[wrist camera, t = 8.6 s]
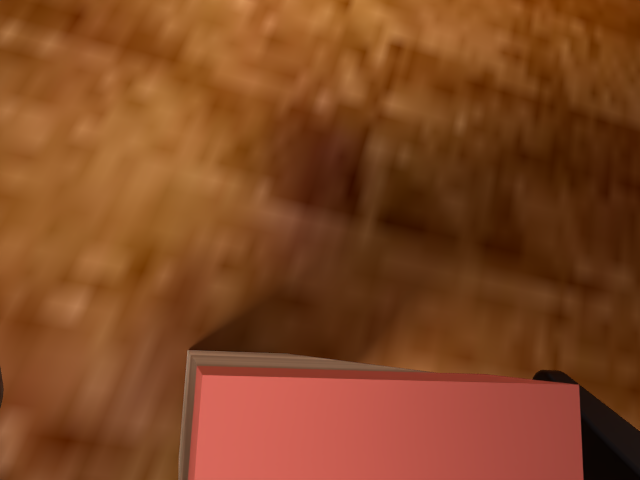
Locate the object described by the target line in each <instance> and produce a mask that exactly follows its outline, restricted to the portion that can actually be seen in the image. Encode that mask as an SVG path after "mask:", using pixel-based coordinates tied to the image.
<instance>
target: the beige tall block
mask: <svg viewBox="0 0 640 480" xmlns="http://www.w3.org/2000/svg"><path fill="white" fill-rule="evenodd" d="M179 480H584V479H583V458H582V437H581V416H580V394H579V385H576V384H567V383H558V382H549V381H540V380H532V379H523V378H514V377H505V376H496V375H487V374H459V373H434V372H426V371H418V370H411V369H403V368H395V367H387V366H379V365H372V364H364V363H356V362H348V361H340V360H333V359H325V358H317V357H309V356H301V355H294V354H283V353H255V352H226V351H198V350H188V353H187V365H186V377H185V389H184V402H183V414H182V426H181V438H180V451H179Z"/></svg>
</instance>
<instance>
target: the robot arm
mask: <svg viewBox="0 0 640 480" xmlns="http://www.w3.org/2000/svg"><path fill="white" fill-rule="evenodd" d="M532 380H540V381H549V382H558V383H567V384H576V385H579V384H578V383H577V382H575V381H574V380H573V379H571V378H570V377H569V376H568V375H566V374H565V373H563V372H561V371H556V370H540V371H539V372H537V373H536V374H535V376H534V377H533V379H532ZM579 394H580V416H581V437H582V458H583V479H584V480H640V431H639V430H637V429H636V428H635V427H633V426H632V425H631V424H629V423H628V422H627V421H626V420H624V419H623V418H622V417H620V416H619V415H618V414H617V413H615V412H614V411H613V410H611V409H610V408H609V407H608V406H606V405H605V404H604V403H602V402H601V401H600V400H598V399H597V398H596V397H595V396H593V395H592V394H591V393H589V392H588V391H587V390H586V389H584V388H583V387H582V386H580V385H579ZM2 399H3V381H2V374H1V368H0V407H1V403H2Z"/></svg>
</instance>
